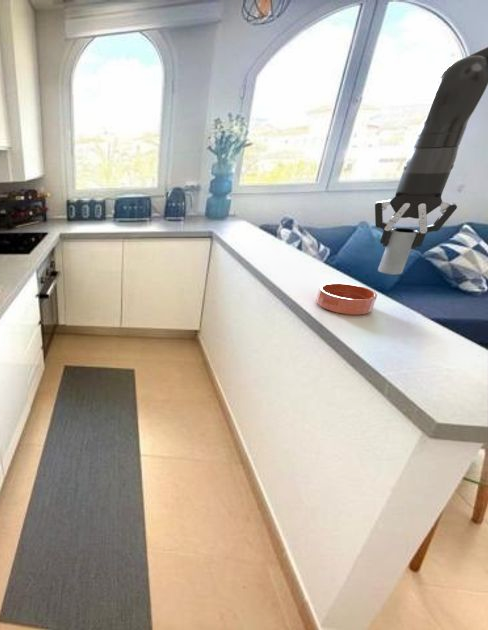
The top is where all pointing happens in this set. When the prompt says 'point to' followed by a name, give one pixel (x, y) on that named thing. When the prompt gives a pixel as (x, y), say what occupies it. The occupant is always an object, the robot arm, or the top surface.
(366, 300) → the bowl
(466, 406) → the top surface
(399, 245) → the grey cylinder
